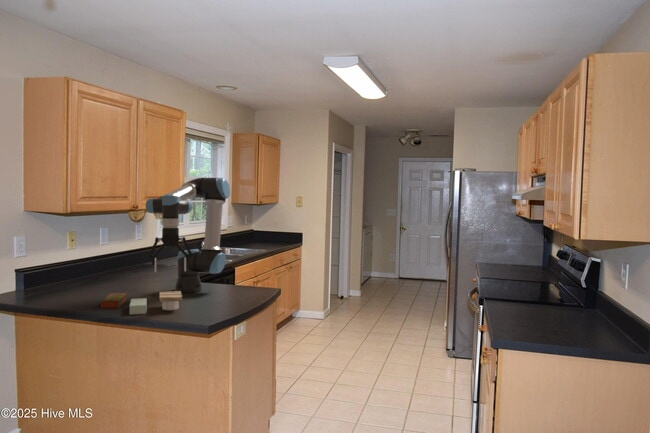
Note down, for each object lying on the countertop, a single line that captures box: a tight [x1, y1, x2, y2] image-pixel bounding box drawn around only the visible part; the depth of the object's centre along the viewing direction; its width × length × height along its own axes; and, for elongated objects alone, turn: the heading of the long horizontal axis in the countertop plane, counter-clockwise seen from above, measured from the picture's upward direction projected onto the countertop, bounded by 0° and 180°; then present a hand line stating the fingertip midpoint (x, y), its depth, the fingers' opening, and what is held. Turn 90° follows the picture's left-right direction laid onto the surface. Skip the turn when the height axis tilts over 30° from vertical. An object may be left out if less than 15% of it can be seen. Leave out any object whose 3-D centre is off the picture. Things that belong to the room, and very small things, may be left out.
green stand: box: [129, 297, 148, 315], centre depth 234 cm, size 15×7×4 cm, turn 18°
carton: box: [100, 292, 127, 309], centre depth 246 cm, size 8×16×4 cm, turn 10°
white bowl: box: [161, 301, 180, 311], centre depth 238 cm, size 8×8×5 cm
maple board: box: [159, 290, 183, 303], centre depth 238 cm, size 15×10×2 cm, turn 18°
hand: (170, 271), depth 237 cm, fingers open, 13 cm apart
